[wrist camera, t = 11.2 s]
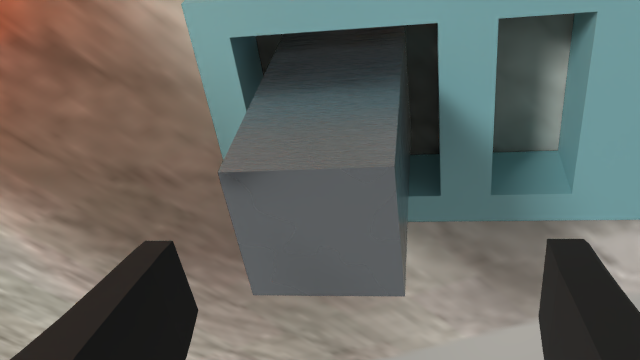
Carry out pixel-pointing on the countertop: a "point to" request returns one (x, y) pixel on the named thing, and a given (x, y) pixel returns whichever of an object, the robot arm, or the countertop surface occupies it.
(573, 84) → the holder
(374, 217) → the peg
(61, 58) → the countertop surface
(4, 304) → the countertop surface
